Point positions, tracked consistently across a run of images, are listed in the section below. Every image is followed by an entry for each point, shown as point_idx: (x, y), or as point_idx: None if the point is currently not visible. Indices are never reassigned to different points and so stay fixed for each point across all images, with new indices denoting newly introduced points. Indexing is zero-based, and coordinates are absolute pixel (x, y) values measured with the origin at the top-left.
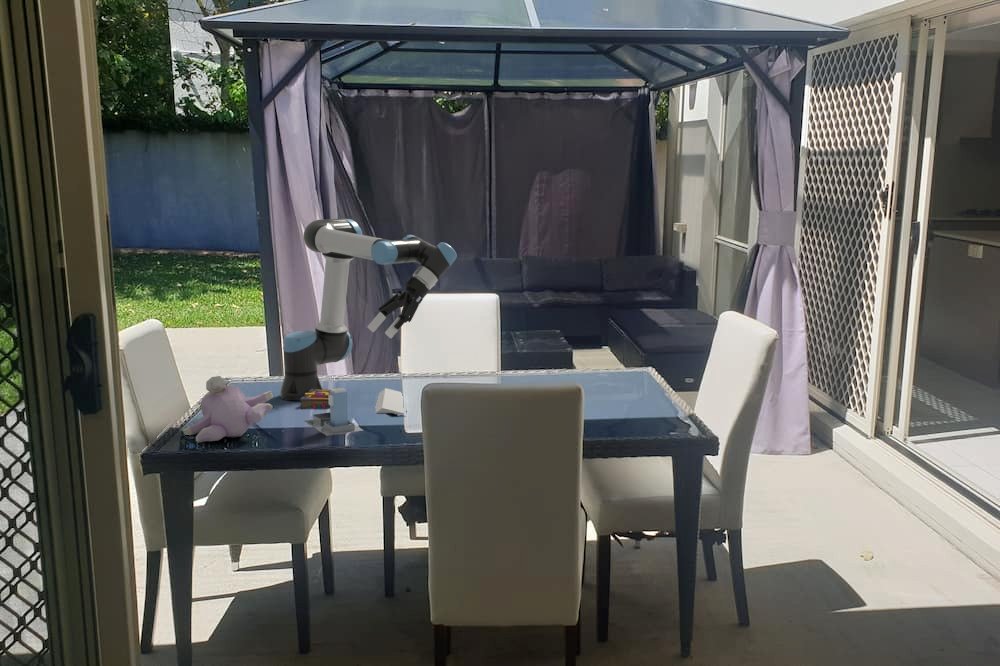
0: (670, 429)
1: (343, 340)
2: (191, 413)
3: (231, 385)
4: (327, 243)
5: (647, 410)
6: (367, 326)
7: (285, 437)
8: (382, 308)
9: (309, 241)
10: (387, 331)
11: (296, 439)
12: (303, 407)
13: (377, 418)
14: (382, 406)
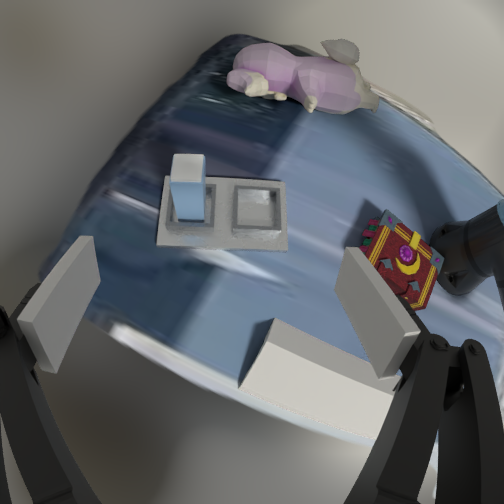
0: None
1: None
2: (400, 107)
3: (355, 73)
4: None
5: None
6: (358, 248)
7: (220, 135)
8: (447, 360)
9: None
10: (74, 246)
11: (199, 143)
12: (378, 221)
13: (253, 324)
14: (278, 346)
